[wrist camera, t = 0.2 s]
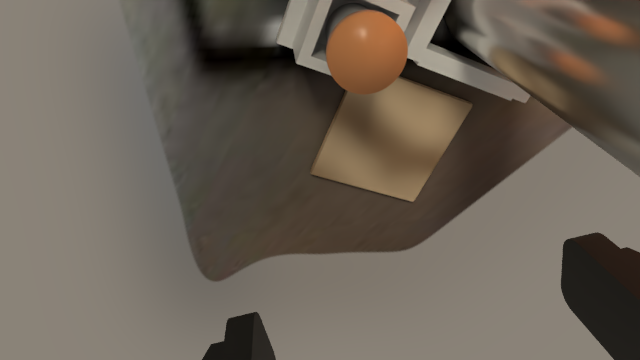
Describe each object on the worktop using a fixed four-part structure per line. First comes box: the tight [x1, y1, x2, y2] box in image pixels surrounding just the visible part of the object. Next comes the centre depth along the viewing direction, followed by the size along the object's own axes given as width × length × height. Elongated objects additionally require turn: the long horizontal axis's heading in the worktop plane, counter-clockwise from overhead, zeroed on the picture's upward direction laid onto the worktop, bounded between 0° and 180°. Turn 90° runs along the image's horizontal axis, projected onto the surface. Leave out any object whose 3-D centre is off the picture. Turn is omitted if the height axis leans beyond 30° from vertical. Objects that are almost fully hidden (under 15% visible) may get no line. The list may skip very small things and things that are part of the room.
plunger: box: [325, 3, 408, 94], centre depth 24 cm, size 4×4×5 cm
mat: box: [310, 76, 473, 202], centre depth 35 cm, size 10×10×1 cm
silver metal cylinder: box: [445, 0, 640, 177], centre depth 20 cm, size 6×6×25 cm
